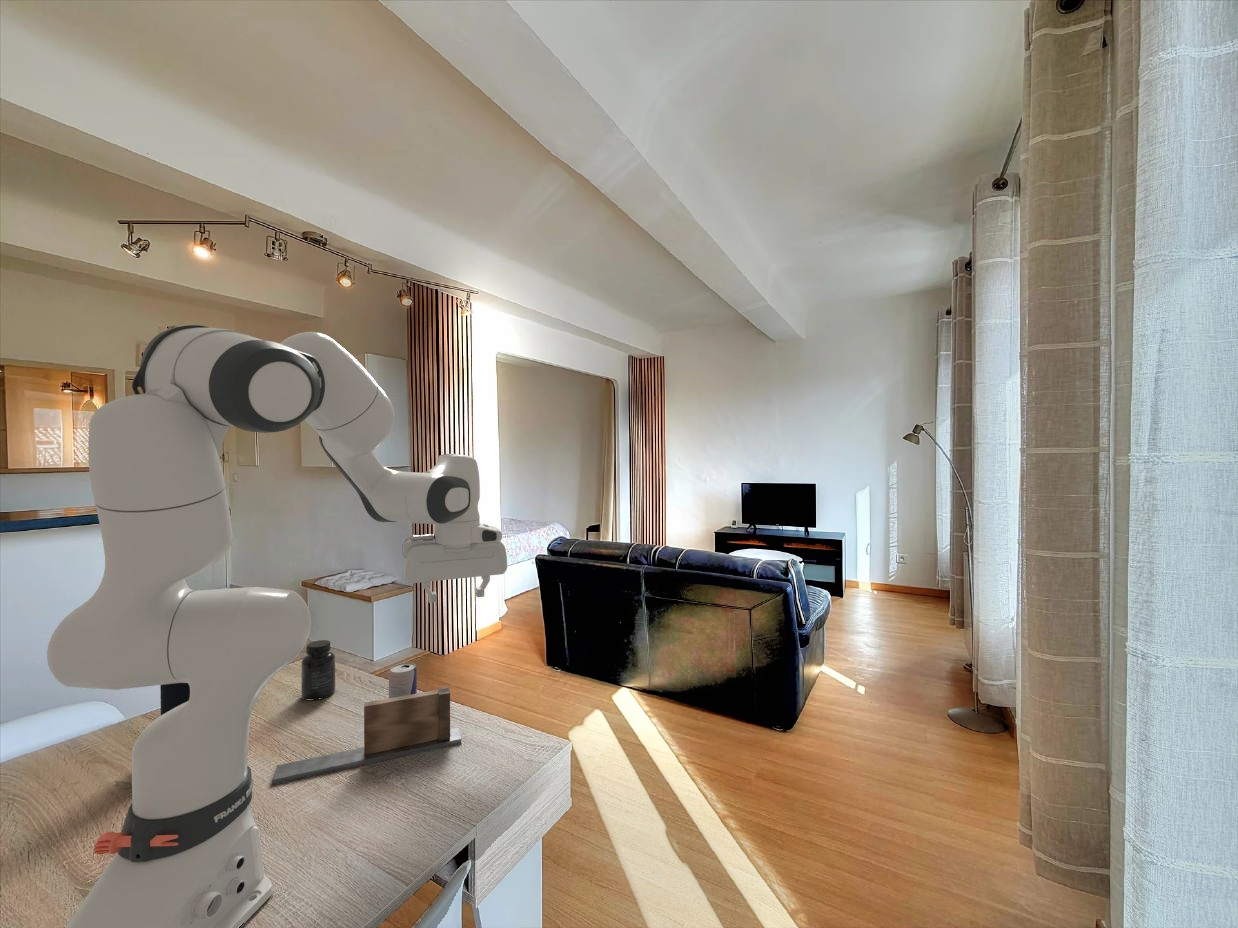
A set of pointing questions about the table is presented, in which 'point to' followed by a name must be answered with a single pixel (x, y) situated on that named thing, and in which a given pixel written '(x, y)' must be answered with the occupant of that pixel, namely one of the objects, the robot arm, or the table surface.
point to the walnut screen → (406, 720)
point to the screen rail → (353, 759)
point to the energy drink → (402, 680)
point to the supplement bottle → (318, 670)
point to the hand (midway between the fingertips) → (456, 598)
